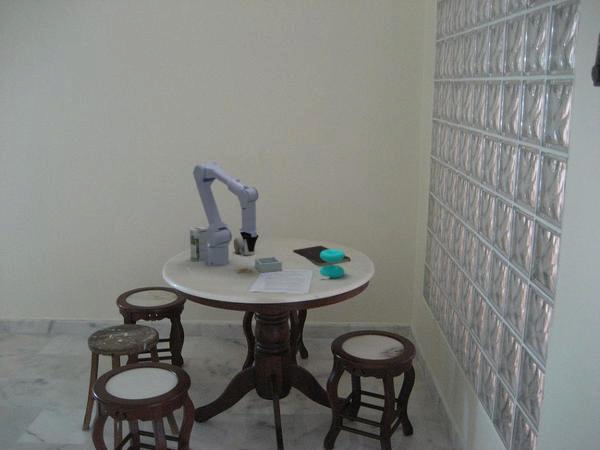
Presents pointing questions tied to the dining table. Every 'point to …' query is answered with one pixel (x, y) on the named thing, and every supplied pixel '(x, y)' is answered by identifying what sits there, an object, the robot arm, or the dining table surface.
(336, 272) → the donuts
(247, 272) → the brown rectangular board
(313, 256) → the hardcover book
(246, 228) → the robot arm
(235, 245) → the ceramic mug
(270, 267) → the pale grey open tray
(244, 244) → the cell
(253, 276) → the dining table surface
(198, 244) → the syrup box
